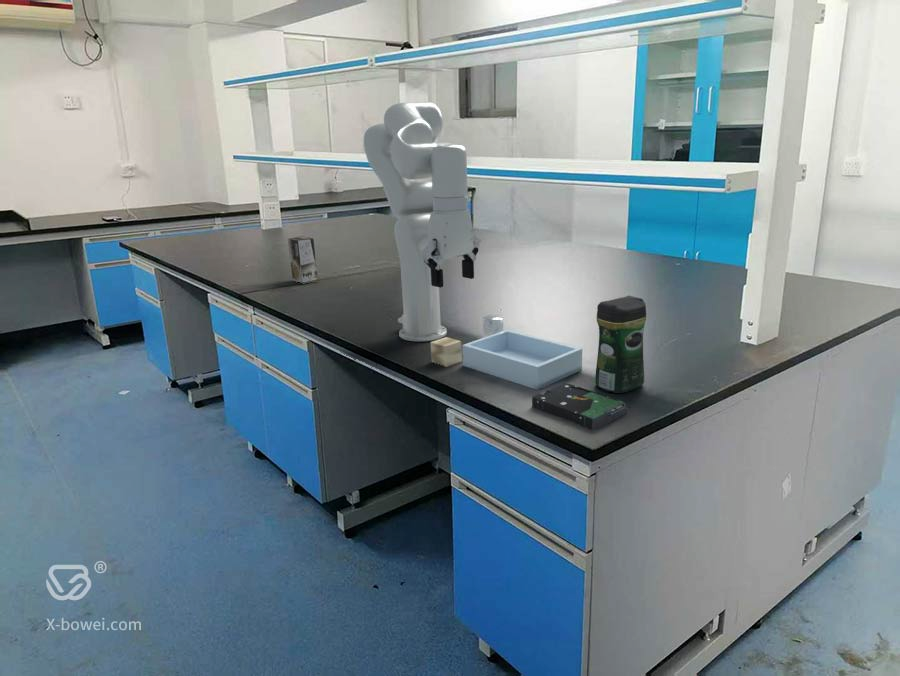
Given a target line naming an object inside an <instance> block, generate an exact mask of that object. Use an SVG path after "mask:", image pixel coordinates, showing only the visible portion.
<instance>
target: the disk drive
mask: <svg viewBox="0 0 900 676" xmlns="http://www.w3.org/2000/svg"><path fill="white" fill-rule="evenodd" d="M533 407H534V408H533ZM531 408H533V409H536V408H537V410H538V409H539V410H538V411H540V410H541V412H544V413H546V414H549V415H551V416H554V417H557V418H559V417H560V418H559V419H562V418H563V420H565V419H566V420H565V421H568V420H569V421H568V422H570V421H571V423H573V422H574V423H573V424H576V425H578V424H579V426H580V425H581V426H580V427H583V426H584V427H583V428H586V427H587V428H586V429H589V430H591V429H592V431H595V430H597V429H599V428H601V427H603V426H605V425H607V424H609V423H611V422H613V421H615V420H616V419H618V418H620V417H622V416H624V415H626V414H627V412H628V406H627V405H626V403H625V402H624V401H621V400H619V399H617V398H614V397H610V396H608V395H605V394H602V393H598V392H596V391H592V390H589V389H586V388H583V387H580V386H577V385H575V384H571V383H568V382H564V383H562V384H560V385H557V386H555V387H552V388H550V389H547V390H546V391H545V392H544V393H543V394H542V393H537V394H536V395H533V396H531ZM614 419H615V420H614ZM608 422H609V423H608ZM602 425H603V426H602ZM594 429H595V430H594Z"/></svg>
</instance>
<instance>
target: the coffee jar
mask: <svg viewBox="0 0 900 676" xmlns="http://www.w3.org/2000/svg"><path fill="white" fill-rule="evenodd" d="M646 307H647V306H646V302H645V301H644V299H643V298H640V297H637V296H634V295H633V296H632V295H626V296H623V297H617V298H614V299H610V300H605V301H600V302H599V303H598V304H597V310H596V322H597V325H598V333H599V334H598V335H599V336H598V349H597V358H596V368H595V381H594V383H595V385H596V386H597V387H598V388H599V389H600V390H603V391H605V392H610V393H617V394H622V393H626V392H630V391H632V390H636V389H638V388H640V387H642V386H643V385H644V383H645V366H644V364H645V360H644V330H645V323H646V320H647V308H646Z"/></svg>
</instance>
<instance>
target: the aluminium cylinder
mask: <svg viewBox="0 0 900 676" xmlns="http://www.w3.org/2000/svg"><path fill="white" fill-rule="evenodd" d="M482 327H483V328H482V330H483V338H484V337H487V336H490V335H493V334H496V333H499V332H502V331H505V330H504V329H505V328H504V327H505V326H504V316H502V315H498V314H488V315H485V316H483V317H482Z"/></svg>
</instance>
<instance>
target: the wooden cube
mask: <svg viewBox="0 0 900 676" xmlns="http://www.w3.org/2000/svg"><path fill="white" fill-rule="evenodd" d="M430 353H431V354H430V357H431V363H433V362H434V364H436V363H437V365H439V364H440V365H439V366H442V365H443V366H442V367H446V368H448V367H451V366H453V365H456V364H459V363H461V362H463V350H462V341H461V340H458V339H456V338H455V339H454V338H451V337H447V336H444V337H442V338H440V339H436V340H432V341H430Z"/></svg>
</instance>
